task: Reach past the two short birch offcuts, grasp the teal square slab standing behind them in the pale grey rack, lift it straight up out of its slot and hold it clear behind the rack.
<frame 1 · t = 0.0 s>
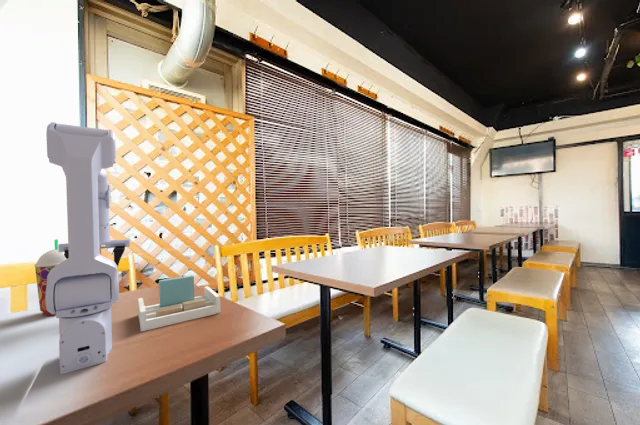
hand: (97, 276, 72), 10 cm above the table, tool pointing down, fingers open, 7 cm apart
offcut a: (194, 315, 67), point 1 cm above the table, touching rack
offcut b: (169, 320, 64), point 1 cm above the table, touching rack
rack: (179, 316, 68), on the table
teal square slab: (177, 310, 71), point 1 cm above the table, touching rack
smoothie: (58, 312, 74), on the table
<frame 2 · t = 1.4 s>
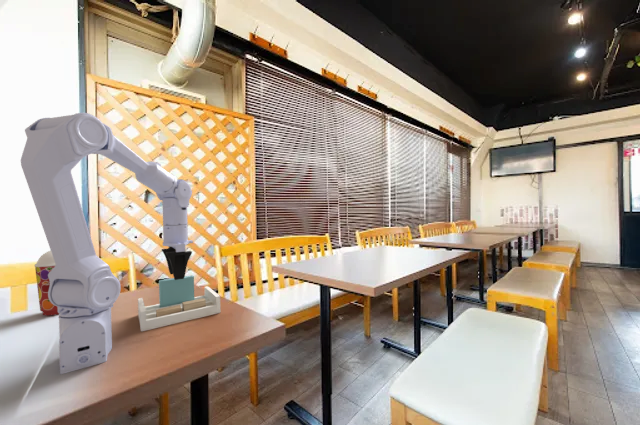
hand: (176, 276, 71), 10 cm above the table, tool pointing down, fingers open, 7 cm apart
nothing on the table moved.
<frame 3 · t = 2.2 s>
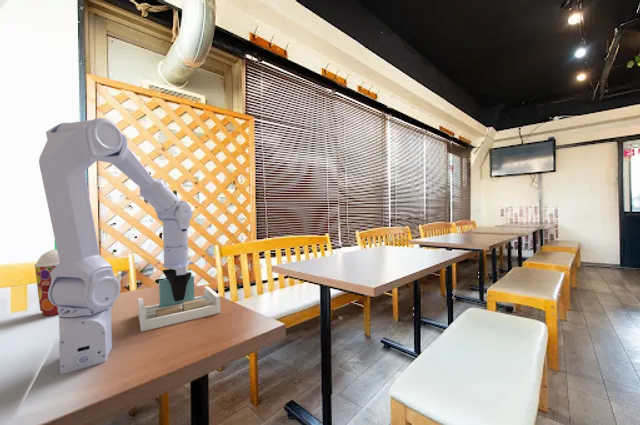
hand: (177, 297, 71), 4 cm above the table, tool pointing down, fingers open, 5 cm apart
nothing on the table moved.
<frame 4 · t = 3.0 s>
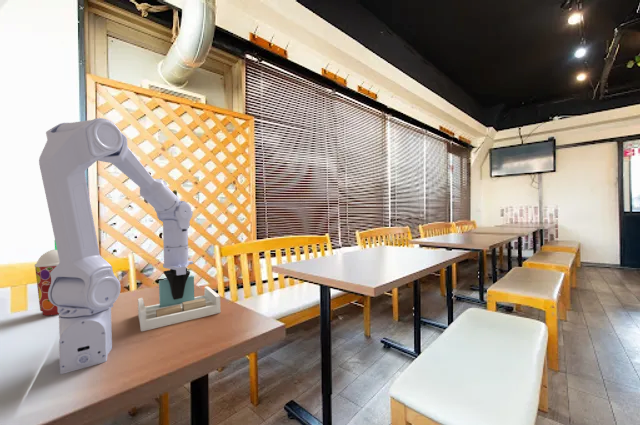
hand: (177, 297, 71), 4 cm above the table, tool pointing down, fingers closed on teal square slab, 2 cm apart
teal square slab: (177, 310, 71), point 1 cm above the table, touching gripper, rack
everything else where it was.
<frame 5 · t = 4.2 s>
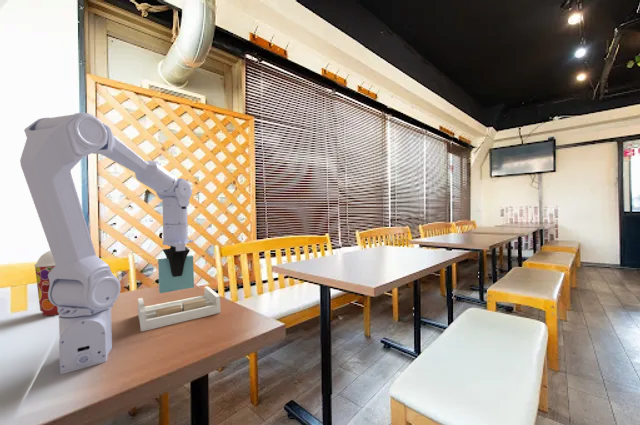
hand: (176, 275, 71), 10 cm above the table, tool pointing down, fingers closed on teal square slab
teal square slab: (177, 289, 71), point 6 cm above the table, touching gripper
everything else where it was.
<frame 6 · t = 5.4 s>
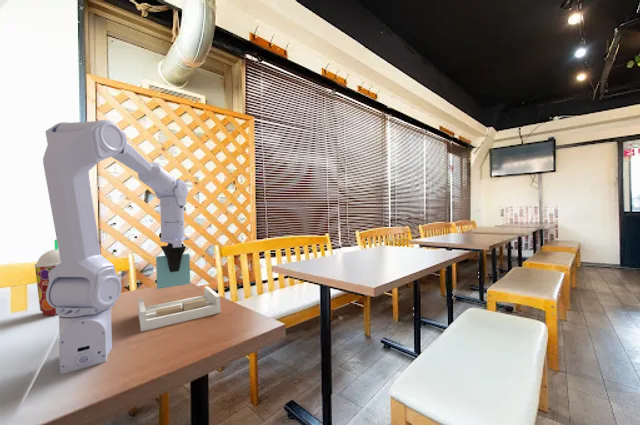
hand: (173, 270, 75), 10 cm above the table, tool pointing down, fingers closed on teal square slab
teal square slab: (173, 285, 75), point 6 cm above the table, touching gripper
everything else where it was.
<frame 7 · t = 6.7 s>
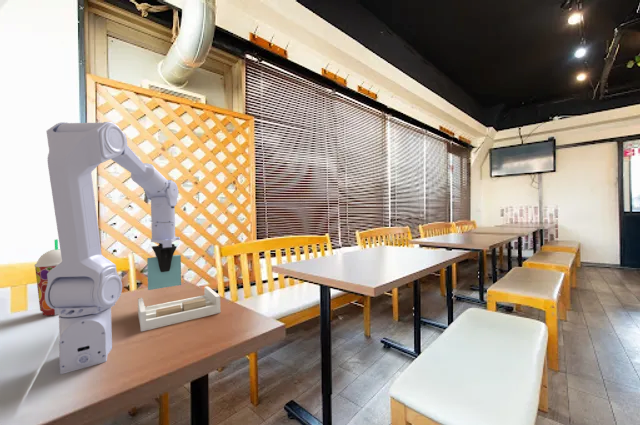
hand: (164, 270, 75), 10 cm above the table, tool pointing down, fingers closed on teal square slab
teal square slab: (164, 286, 75), point 6 cm above the table, touching gripper
everything else where it was.
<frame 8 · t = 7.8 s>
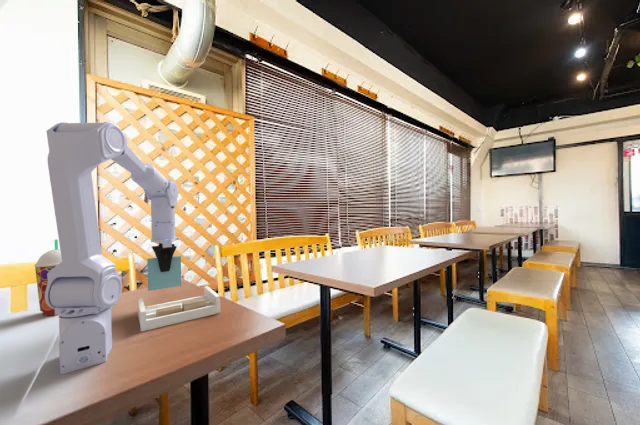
hand: (164, 270, 75), 10 cm above the table, tool pointing down, fingers closed on teal square slab
teal square slab: (164, 287, 75), point 6 cm above the table, touching gripper
everything else where it was.
at the end: the gripper is holding teal square slab; teal square slab inside the target area (0.0 cm from its centre), point 5.6 cm above the table; offcut a moved 0.0 cm from its start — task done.
